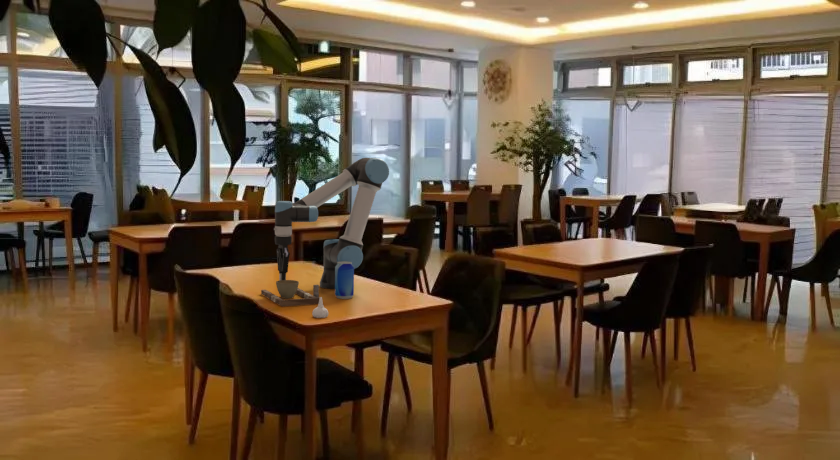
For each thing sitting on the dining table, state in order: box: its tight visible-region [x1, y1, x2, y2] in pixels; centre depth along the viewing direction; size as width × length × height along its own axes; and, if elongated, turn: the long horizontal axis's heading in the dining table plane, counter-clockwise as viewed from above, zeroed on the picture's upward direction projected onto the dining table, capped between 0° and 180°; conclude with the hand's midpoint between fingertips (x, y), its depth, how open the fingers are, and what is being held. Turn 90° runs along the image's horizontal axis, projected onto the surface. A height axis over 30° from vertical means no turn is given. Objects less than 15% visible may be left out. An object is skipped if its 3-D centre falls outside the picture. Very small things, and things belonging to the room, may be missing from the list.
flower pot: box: [275, 279, 300, 300], centre depth 349 cm, size 10×10×7 cm
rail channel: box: [260, 284, 320, 307], centre depth 347 cm, size 32×21×6 cm, turn 27°
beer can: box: [334, 261, 355, 300], centre depth 352 cm, size 8×8×16 cm
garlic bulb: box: [311, 296, 329, 319], centre depth 310 cm, size 6×6×8 cm
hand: (282, 287), depth 355 cm, fingers closed
